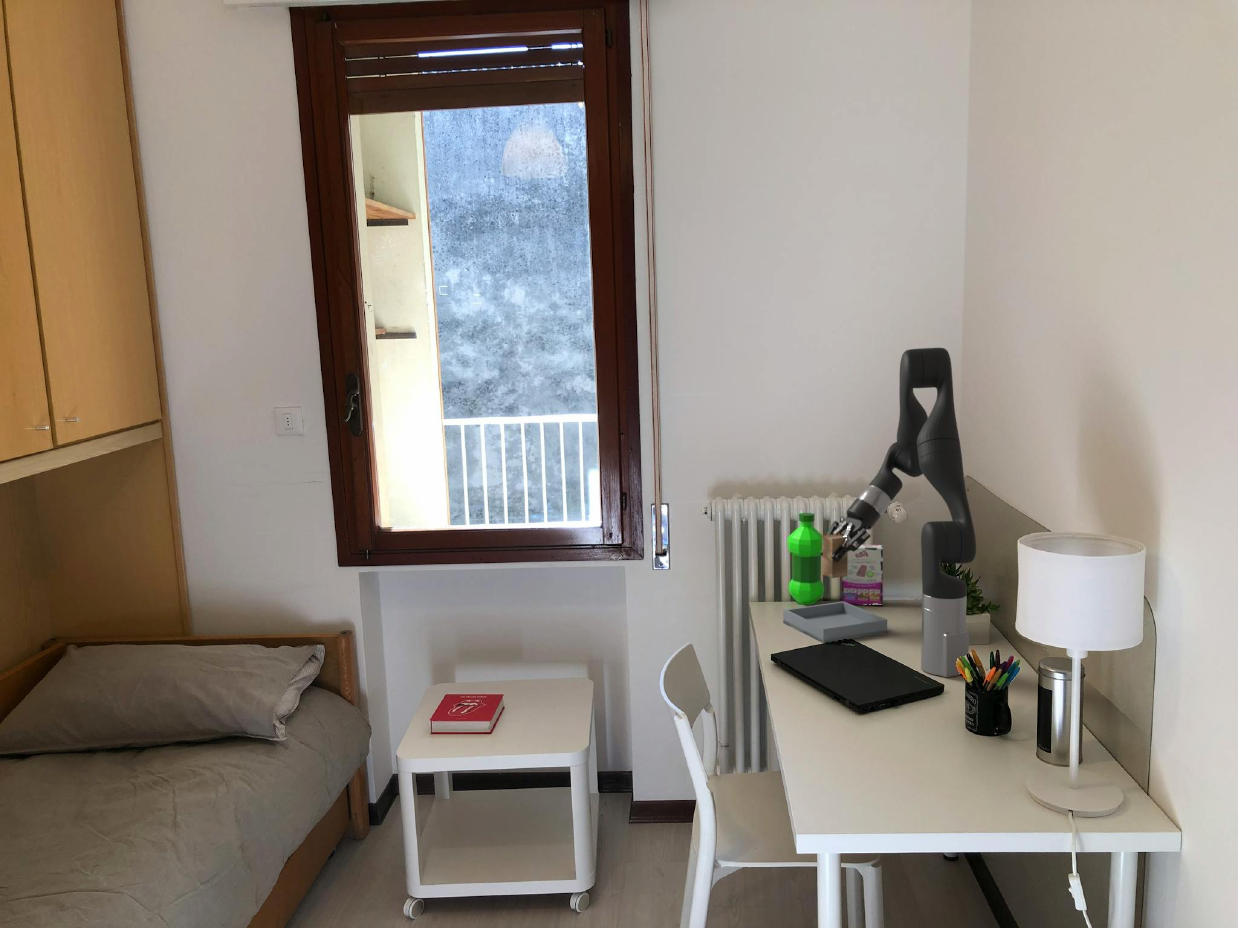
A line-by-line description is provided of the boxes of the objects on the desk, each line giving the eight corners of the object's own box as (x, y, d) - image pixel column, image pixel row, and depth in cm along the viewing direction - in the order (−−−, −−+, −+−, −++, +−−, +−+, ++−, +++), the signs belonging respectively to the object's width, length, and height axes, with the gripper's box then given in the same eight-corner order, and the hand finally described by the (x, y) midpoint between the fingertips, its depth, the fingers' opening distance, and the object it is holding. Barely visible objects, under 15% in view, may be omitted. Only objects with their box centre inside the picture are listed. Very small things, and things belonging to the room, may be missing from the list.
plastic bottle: (792, 607, 259) (792, 518, 256) (785, 597, 270) (785, 511, 266) (828, 606, 259) (829, 517, 256) (819, 596, 270) (820, 510, 267)
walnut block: (847, 576, 237) (847, 537, 235) (832, 578, 235) (832, 538, 234) (837, 572, 241) (837, 533, 240) (822, 574, 239) (822, 535, 238)
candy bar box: (883, 602, 262) (884, 544, 260) (882, 606, 258) (883, 548, 255) (842, 599, 266) (842, 542, 264) (841, 604, 261) (841, 546, 259)
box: (887, 633, 234) (887, 619, 234) (823, 643, 228) (823, 629, 227) (843, 614, 252) (843, 601, 251) (783, 622, 245) (783, 609, 244)
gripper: (843, 493, 245) (803, 543, 242) (877, 501, 232) (835, 554, 229) (860, 512, 247) (821, 561, 245) (895, 521, 234) (853, 573, 231)
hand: (828, 558), depth 237 cm, fingers closed on walnut block, 4 cm apart
